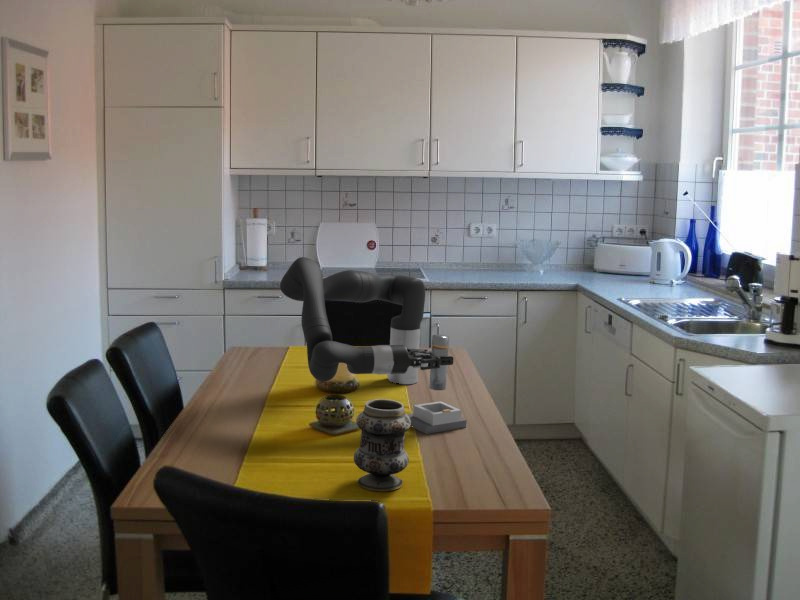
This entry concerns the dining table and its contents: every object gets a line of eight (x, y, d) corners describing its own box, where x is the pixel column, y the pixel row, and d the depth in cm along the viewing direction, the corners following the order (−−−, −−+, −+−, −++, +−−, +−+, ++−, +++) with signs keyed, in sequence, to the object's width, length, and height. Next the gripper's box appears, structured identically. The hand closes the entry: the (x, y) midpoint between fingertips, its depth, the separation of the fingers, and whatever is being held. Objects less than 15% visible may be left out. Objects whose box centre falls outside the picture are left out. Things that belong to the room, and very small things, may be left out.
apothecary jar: (418, 488, 191) (422, 408, 188) (370, 497, 185) (374, 415, 182) (389, 470, 201) (392, 393, 198) (342, 478, 195) (345, 399, 192)
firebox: (402, 422, 237) (403, 402, 236) (441, 416, 244) (442, 396, 243) (425, 434, 228) (427, 413, 227) (466, 427, 235) (467, 407, 234)
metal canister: (425, 386, 234) (428, 335, 231) (439, 385, 236) (442, 333, 234) (435, 391, 230) (438, 338, 228) (449, 389, 232) (453, 337, 230)
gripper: (378, 367, 234) (439, 365, 240) (395, 380, 221) (458, 379, 226) (380, 339, 233) (440, 338, 239) (396, 351, 220) (460, 350, 225)
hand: (449, 358), depth 233 cm, fingers closed on metal canister, 4 cm apart
